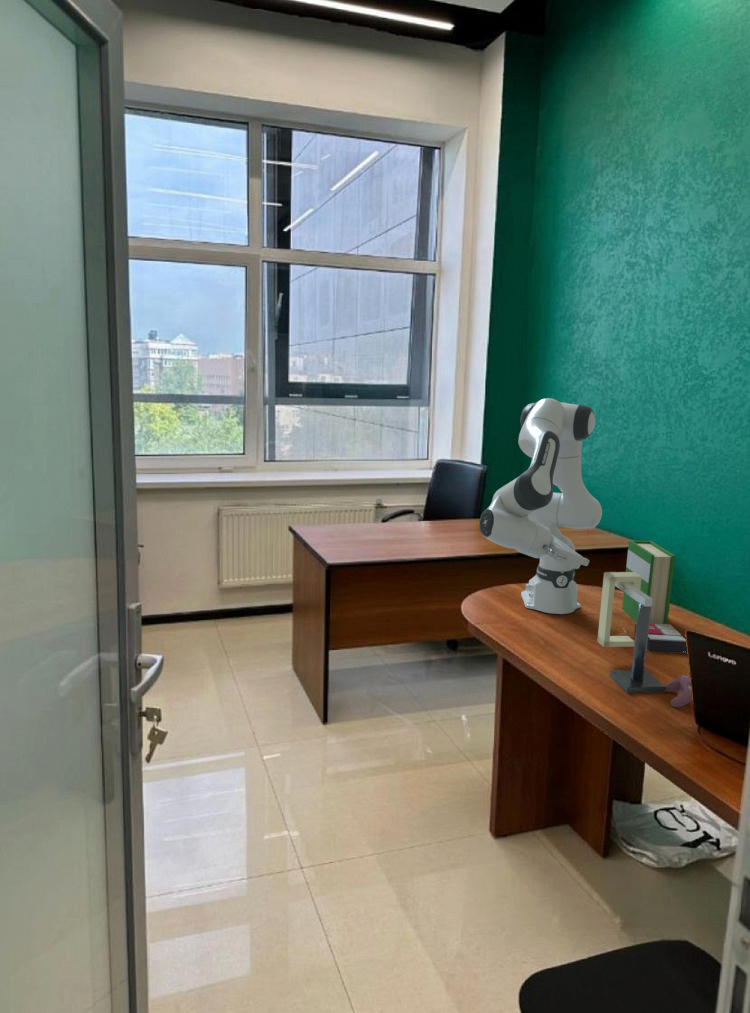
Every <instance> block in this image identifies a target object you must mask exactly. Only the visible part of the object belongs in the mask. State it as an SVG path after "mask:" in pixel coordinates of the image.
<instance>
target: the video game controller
mask: <svg viewBox="0 0 750 1013" xmlns="http://www.w3.org/2000/svg"><path fill="white" fill-rule="evenodd" d="M690 678H691V677H690V676H688V675H684V674H682V675H680V676H677V678H675V679H673V680H671V681H669V682H667V683H666V684H665V685H664V686H665V692H667V693H673V692H674V693H675V692H676V691H677V694H676V696H675V697H673V698H672V700H670V706H671V707H673V708H681V707H684V706H687V705H688V704H689V703H691V702H693V701H692V690H691V679H692V678H691V679H690Z"/></svg>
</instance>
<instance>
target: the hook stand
mask: <svg viewBox="0 0 750 1013" xmlns="http://www.w3.org/2000/svg"><path fill="white" fill-rule="evenodd" d="M615 588H618V590H620V591H621V592H623V593H624V592H625V593H626V594H627V595H629V596H630V597H632V598H633V599H634V600H636V601H637V602H639V606H638V616H637V623H636V624H637V625H636V634H635V633H634V634H635V635H634V636H635V637H634V641H635V643H634V647H633V654H632V662H631V669H611V670H609V675H610V676H609V677H610V678H611V679H612V680H613V681H614V682H615V683H616V684H617V685H618V686H619V687H620V688H621V689H622V691H624V692H625V693H626V694H643V693H646V694H647V693H648V694H649V693H652V694H653V693H665V692H666V690H665V685H664V684H663V683H662V682H661V681H660V680H658V679H657V677H655V676H654V675H653V674H652V673H651V672H650V671H649V670H647V669H645V666H646V657H647V651H648V650H647V641H648V632H649V623H650V614H651V606H652V601H653V599H652V598H651V597H649V596H648V595H646V594H645V593H643V592H642V591H640V590H639V589H637V588H636V587H634V586H633V585H631V584H630V583H628V582H615Z"/></svg>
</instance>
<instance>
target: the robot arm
mask: <svg viewBox="0 0 750 1013" xmlns="http://www.w3.org/2000/svg"><path fill="white" fill-rule="evenodd" d="M595 425H596V417H595V411H593V409H592V408H591V407H590V406H588V405H585V404H574V403H568V402H560V401H558V400H557V399H554V398H552V397H551V398H549V397H547V398H542V399H540V400H538V401H536V402H531V403H529V404H527V405H525V407H523V408H522V411H521V414H520V428H521V429H520V432H519V434H518V442H517V443H518V446H519V448H520V450H521V451H522V452H523V454H525V455H526V456H527V457H529V458H531V462H530V465H529V467H528V469H526V470H525V471H524V472H522V473H521V474H520V475H519V476H518V477H515V478H514V479H513V480H511V481H509V482H508V483H506V484H505V485H503V486H502V487H500V488H498V489H497V490H496V491H495V493H493V496H492V499H491V503H490V505H489V506H488V507H487V508H486V509H485V510H483V511H482V513H481V515H480V518H479V531H480V533H481V535H482V536H483V537H484V538H485V539H486V540H488V541H490V542H492V543H494V544H496V545H499V546H501V547H504V548H507V549H513V550H516V551H517V552H518V553H520V554H523V555H525V556H528V557H530V558H531V557H532V558H534V559H539V563H538V565H537V567H536V572H535V575H534V576H533V577H532V578H530V579H529V581H528V583H526V584H525V590H523V591H521V592H520V593H521V594H520V596H521V598H522V601H523V604H524V606H525V608H527V609H530V610H536V611H540V612H542V613H545V614H546V613H547V614H554V615H555V614H556V615H566V614H567V615H568V614H572V613H573V612H575V611H576V610H577V609H579V608H581V603H579V602H578V584H577V582H576V581H575V580H574V579H575V576H576V575H575V574H576V572H575V570H578V569H580V567H581V565H582V566H584V567H587V566H589V563H590V559H588V558H587V557H583V555H581V554H580V553H578V552H577V551H576V546H575V544H574V543H573V542H572V540H571V539H570V538H569V537H566V536H564V534H563V533H562V532H561V531H560V529H559V528H567V529H575V530H587V529H588V530H589V529H594V528H596V527H597V526H598V525H599V524H600V521H601V519H602V517H603V516H602V515H603V509H602V506H601V503H600V502H599V501H598V500H597V498H595V497H594V496H593V495H592V494H591V493H590V492H589V491H588V489H587V488H586V485H585V484H584V479H583V476H582V449H583V448H582V446H583V444H582V441H584V440H587V439H588V438H589V437H591V435H592V433H593V432H594V430H595ZM554 486H556V487H557V488H558V489H559V490H560V492H554Z"/></svg>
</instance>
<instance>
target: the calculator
mask: <svg viewBox="0 0 750 1013" xmlns="http://www.w3.org/2000/svg"><path fill="white" fill-rule="evenodd" d="M636 625H637V623H635V624H634V631H633V633H634V634H636ZM686 640H687V639H686V638H684V636H682V634H681V633H680V632H679V631H678V629H676V628H675V627H673V626H672V624H668V623H667V624H655V625H654V624H652V623H649V632H648V641H647V650H646V651H648V652H658V653H671V652H683V651H684V652H685V651H686V653H685V654H688V651H687V647H686Z"/></svg>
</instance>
